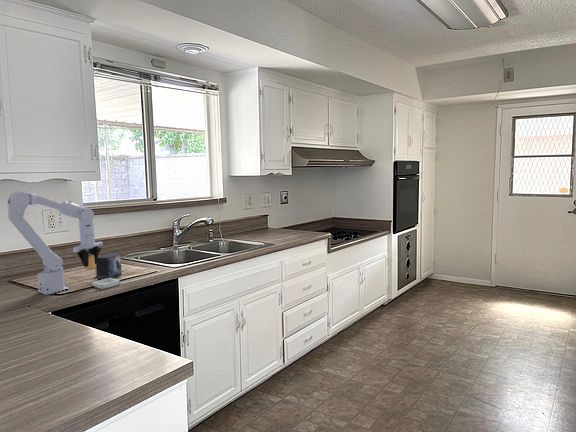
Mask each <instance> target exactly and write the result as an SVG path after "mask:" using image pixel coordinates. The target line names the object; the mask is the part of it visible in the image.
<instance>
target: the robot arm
mask: <svg viewBox="0 0 576 432" xmlns="http://www.w3.org/2000/svg"><path fill="white" fill-rule="evenodd" d="M29 205H30V206H34V205H35V206H36V205H41V206H45V207H49V208H51V209H54V210H55V209H56V210H58V212H59V213H60V214H61V215H64V216H66V217H67V216H68V217H71V218H74V219H78V224H79V225H78V228H79V239H80V241H79V242H80V244H79V245H78V246H74V247H72V253H76V255H77V256H78V257H79V259H80V261H81V264H82V266H83V267H84V268H85V267H88V255H89V254H93V255H94V258H95V265H96V263H97V258H98V257H99V253H100V252H101V249H102V248H101V247H103V246H104V243H103V241H96V238H95V227H94V218H95V213H94V210H92V209H91V208H89V207H86V206H84V205H83V204H76V203H74V202H73V201H72V200H69V199H68V200H64V201H62V202H60V201H57V200H54V199H51V198H49V197H45V196H42V195H39V194H36V193H29V192H24V191H21V190H17V191H13V192H11V194H9V197H8V200H7V217H8V220H9V221H10V222H11V224H12V225H13V226H14V227H15V229H16V230H17V231H18V232H19V233H20V234H21V235H22V237H23V238H24V239H25V240H26V241H27V242H28V244H29V245H30V246H31V247H32V248H33V250H34V251H35V252H36V253H37V254H38V256H39V257H40V258H41V260H42V264H43V266H44V268H43V270H42V271H41V272H39V273H37V276H36V279H37V280H36V281H37V288H38V289H37V293H40V294H42V295H45V296H46V295H52V294H55V292H56V293H58V291H60V292H63V291H62V290H64V291H66V290H65V289H68V290H70V288H69V287H67V286H65V276H64V267H63V264H64V260H63V259H62V257H60V256H58V254H57V253H55V252H53V251H52V250H51V248H49V246H48V245H47V243H46V242H44V240H43V239H42V238H41V236H40V235H39V234H38V233H37V232H36V231H35V229H34V228H33V227H32V225H30V224H29V222H28V220H26V218H25V217H24V215H25V212H26V209H27V208H28V207H29ZM87 250H88V251H87Z"/></svg>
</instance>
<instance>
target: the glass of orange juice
mask: <svg viewBox="0 0 576 432" xmlns="http://www.w3.org/2000/svg"><path fill="white" fill-rule="evenodd" d="M95 266H96V264H95V258H94V255H93V254H90V253H89V255H88V267H84V268H85V271H92V270H95Z"/></svg>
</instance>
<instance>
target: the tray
mask: <svg viewBox="0 0 576 432" xmlns="http://www.w3.org/2000/svg"><path fill="white" fill-rule="evenodd" d="M120 285H121V280H119V279H116V278H106V279H102V280H96V281H91V287H92V286H95V287H94V288H96V287H97V288H96V289H99V288H100V290H105V289H109V288H113V287H118V286H120Z"/></svg>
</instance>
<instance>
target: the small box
mask: <svg viewBox="0 0 576 432" xmlns="http://www.w3.org/2000/svg"><path fill="white" fill-rule="evenodd" d="M95 266H96V268H97V277H96V280H97V279H106V278H113V277H114V278H116V276H117V277H119V276H121V275H120V274H122V275H123V271H122V257H121V253H119V252H118V253H117V252H109V253H108V252H107V253H105V254H102V255H98V258H97V263H96V264H95ZM118 275H119V276H118ZM114 278H113V279H114Z"/></svg>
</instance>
